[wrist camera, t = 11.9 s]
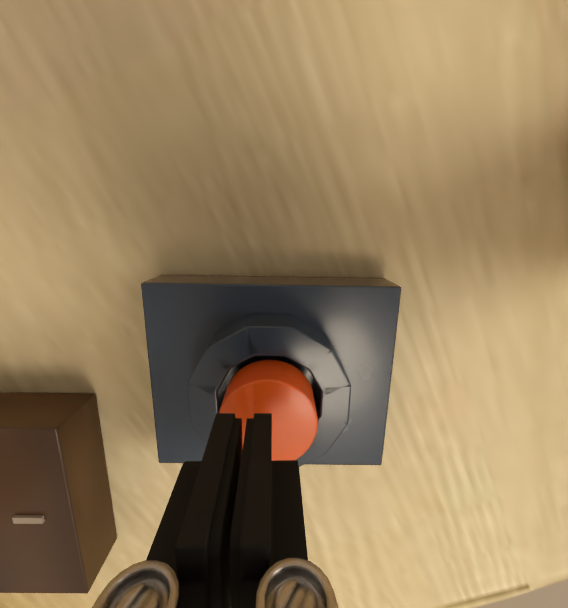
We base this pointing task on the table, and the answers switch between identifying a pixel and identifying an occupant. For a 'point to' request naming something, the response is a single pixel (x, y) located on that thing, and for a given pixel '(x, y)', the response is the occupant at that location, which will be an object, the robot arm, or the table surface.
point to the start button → (275, 404)
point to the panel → (52, 493)
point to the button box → (272, 355)
